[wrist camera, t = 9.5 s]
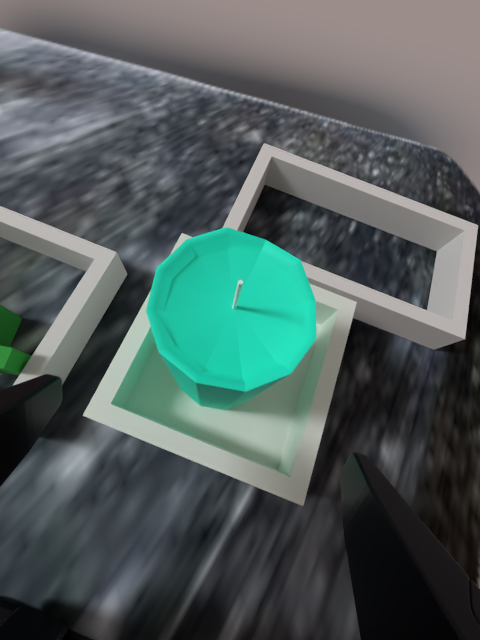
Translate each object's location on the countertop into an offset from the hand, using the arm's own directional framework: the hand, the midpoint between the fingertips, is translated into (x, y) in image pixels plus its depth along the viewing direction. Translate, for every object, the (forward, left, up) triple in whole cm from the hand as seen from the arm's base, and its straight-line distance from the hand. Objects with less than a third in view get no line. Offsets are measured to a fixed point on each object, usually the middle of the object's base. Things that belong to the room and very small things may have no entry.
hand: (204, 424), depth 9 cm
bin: (+4, 0, -11) cm, 12 cm away
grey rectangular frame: (+16, -5, -11) cm, 20 cm away
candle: (+4, +1, -10) cm, 11 cm away
